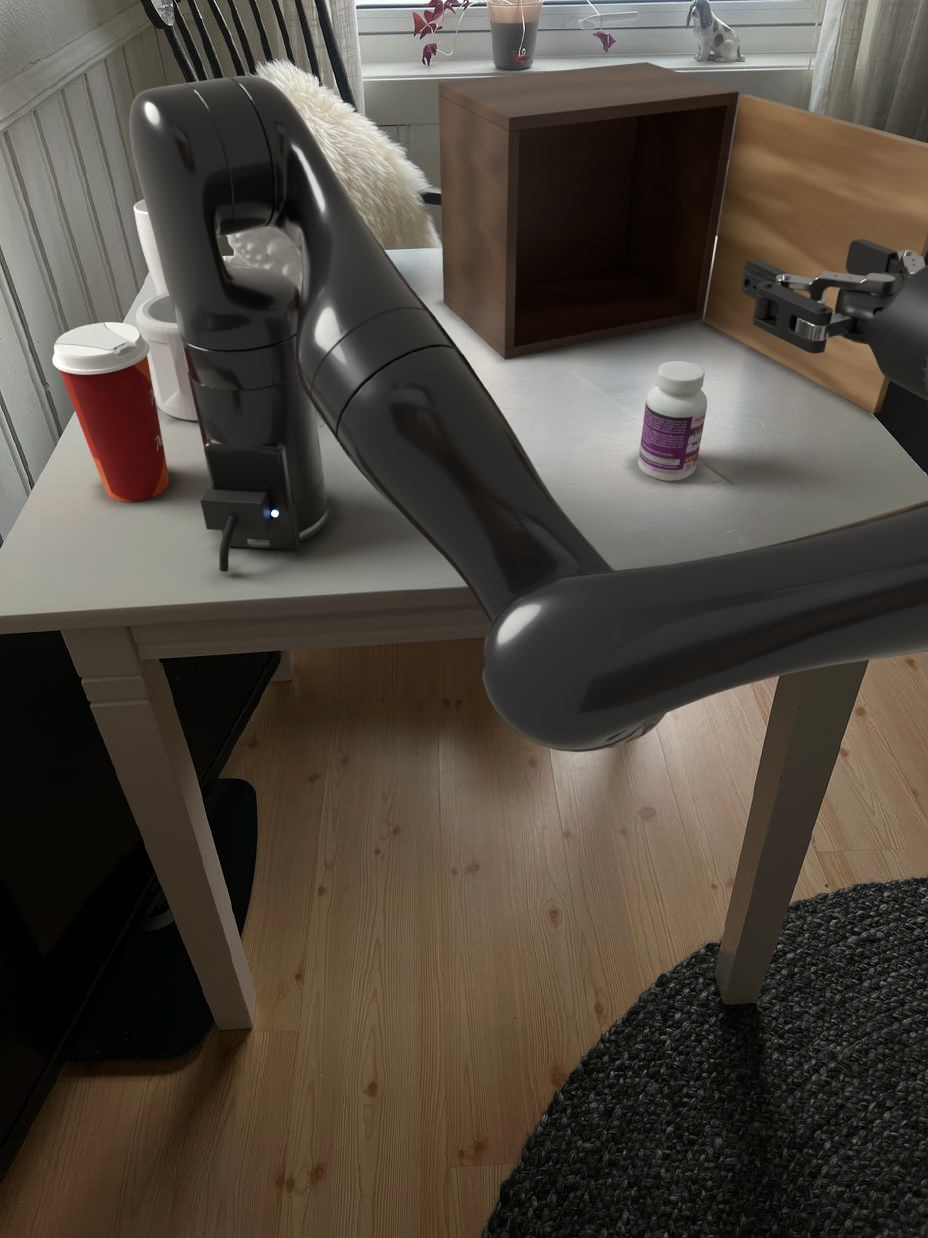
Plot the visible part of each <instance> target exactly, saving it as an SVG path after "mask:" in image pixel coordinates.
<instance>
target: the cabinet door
mask: <svg viewBox="0 0 928 1238" xmlns="http://www.w3.org/2000/svg"><path fill="white" fill-rule="evenodd" d="M859 239H866V240H868V241H871V242H873V243H876V244H878V245H881V246H883V247H886V248H889V249H891V250H894V251H896V252H897V253H898V252H899V251H902V250H912V251H914V252H917V254H918V256H923V257H925V255H926V251H927V250H928V142H924V141H920V140H916V139H913V138H909V137H905V136H903V135H898V134H895V133H891V132H887V131H884V130H880V129H877V128H873V127H869V126H866V125H862V124H858V123H855V122H851V121H848V120H844V119H840V118H836V117H833V116H829V115H825V114H821V113H819V112H814V111H810V110H806V109H803V108H799V107H795V106H793V105H789V104H785V103H781V102H778V101H774V100H771V99H767V98H763V97H759V96H756V95H752V94H749V93H747V94H745V93H744V94H739V99H738V105H737V111H736V117H735V123H734V130H733V136H732V142H731V148H730V154H729V161H728V167H727V173H726V179H725V185H724V192H723V198H722V204H721V210H720V216H719V223H718V229H717V235H716V241H715V247H714V254H713V260H712V266H711V272H710V279H709V285H708V291H707V297H706V303H705V310H704V316H703V322H704V323H705V324H707V325H709V326H710V327H713V328H714V329H715V330H718V331H720V332H722V333H723V334H725V335H727V336H729V337H731V338H733V339H735V340H736V341H738V342H740V343H742V344H743V345H745V346H747V347H749V348H751V349H752V350H755V351H756V352H758V353H760V354H761V355H764V356H766V357H768V358H769V359H771V360H773V361H775V362H777V363H779V364H780V365H783V366H785V367H786V368H788V369H790V370H791V371H794V372H795V373H798V374H799V375H801V376H802V377H805V378H807V379H808V380H810V381H811V382H814V383H816V384H817V385H820V386H821V387H823V388H825V389H827V390H828V391H830V392H833V393H835V394H836V395H838V396H840V397H842V398H844V399H845V400H847V401H849V402H851V403H853V404H855V405H857V406H858V407H861V408H862V409H864V410H865V411H868V412H870V413H871V414H873V415H874V414H876V413H877V414H878V413H880V412H881V411H882V407H883V404H884V401H885V399H886V394H887V392H888V387H889V385H890V382H891V381H890V380H889V379H887V378H886V377H885V376H884V375H883V373H882V372H881V371H880V369H879V367H878V364H877V362H876V359H875V357H874V354H873V352H872V350H871V348H870V347H869V345H867V344H861V343H855V342H852V341H851V340H848V339H846V338H844V337H842V336H834V337H830V338H827V342H826V347H825V351H824V352H822V353H809V352H807V351H805V350H803V349H801V348H799V347H797V346H795V345H793V344H791V343H789V342H787V341H785V340H783V339H781V338H779V337H777V336H775V335H773V334H771V333H769V332H767V331H765V330H763V329H761V328H759V327H757V326H755V325H753V324H752V322H753V316H754V309H755V302H756V300H755V299H753V298H751V297H749V296H748V295H746V294H744V293H742V291H741V285H742V278H743V271H744V268H745V264H746V262H747V261H750V260H755V259H759V260H761V261H764V262H766V263H768V264H770V265H772V266H774V267H776V268H778V269H780V270H783V271H785V272H787V273H789V274H790V275H797V276H804V277H812V278H815V277H817V276H818V274H819V273H821V272H823V271H829V272H837V273H845V274H850V273H848V272H847V270H846V261H847V256H848V252H849V247H850V244H851V242H852V241H854V240H859ZM839 290H840V288H835V287H829V288H828V290H827V295H826V300H825V305H826V306H828V307H830V308H832V309H833V313H835V306H836V301H837V296H838V292H839ZM794 292H796V293H798V294H801V295H803V296H805V297H808V298H810V293H809V292H807V291H802V290H795V289H794ZM841 380H842V381H841ZM849 388H850V389H849ZM852 392H853V393H854V394H853V393H852Z"/></svg>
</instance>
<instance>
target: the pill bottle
mask: <svg viewBox="0 0 928 1238" xmlns="http://www.w3.org/2000/svg"><path fill="white" fill-rule="evenodd" d="M704 380H705V370H704V368H703V367H701V366H700V365H698V364H696V363H693V362H689V361H684V360H673V361H667V362H663V363H661V364H660V366H659V367H658V368H657V372H656V379H655V383H656V385H655V386H653V387H652V388H651V389H650V390H649V391H648V393H647V394H646V399H645V405H644V412H643V413H644V414H643V424H642V430H641V437H640V444H639V445H640V446H639V453H638V461H637V463H638V466H639V470H641V471H642V473H644V474H645V475H647V476H649V477H651V478H654V479H656V480H661V481H668V482H672V481H680V480H684V479H686V478H688V477H690V476H691V475H692V474H693V473H694V472H695V471H696V468H697V464H698V459H699V453H700V449H701V448H700V447H701V443H702V436H703V431H704V426H705V420H706V415H707V409H708V398H707V396H706V394H705V392H704V391H703V390H702V388H703V386H704Z"/></svg>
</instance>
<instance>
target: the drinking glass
mask: <svg viewBox="0 0 928 1238" xmlns="http://www.w3.org/2000/svg"><path fill="white" fill-rule="evenodd" d="M133 213H134V219H135V224H136V229H137V234H138V239H139V242H140V246H141V250H142V253H143V255H144V256H143V257H144V260H145V263H146V265H147V269H148V272H149V276H150V278H151V281H152V285H153V288H154V292H155V294H156V295H155V296H157V295H160V294H163V293H166V292H168V289H167V286H166V282H165V278H164V274H163V270H162V265H161V261H160V257H159V252H158V248H157V244H156V241H155V237H154V233H153V229H152V225H151V222H150V218H149V215H148V211H147V208H146V204H145V200H144V198H143V199H141V200H138V201H137V202H135V204H134V205H133Z"/></svg>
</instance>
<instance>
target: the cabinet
mask: <svg viewBox="0 0 928 1238" xmlns="http://www.w3.org/2000/svg"><path fill="white" fill-rule="evenodd" d="M437 84H438V86H437V87H438V89H437V90H438V123H439V124H438V126H439V127H438V128H439V129H438V130H439V166H440V167H439V169H440V206H441V208H440V210H441V248H442V249H441V251H442V253H441V254H442V291H443V292H442V293H443V295H442V296H443V304H444V305H445V306H447V308H449V309H450V310H451V311H452V313H454V314H455V315H456V316H457V317H458V318H459V319H460V320H461V321H463V322H464V323H465V324H466V325H467V326H468V328H470V329H471V330H472V331H473V332H474V333H475V334H477V335H478V337H480V338H481V340H483V341H484V342H486V343H487V344H488V345H489V346H490V348H492V350H494V351H495V352H496V353H497V354H498V355H499V356H500V357H502V359H504V360H508V359H512V358H513V359H514V358H518V357H522V356H527V355H532V354H537V353H543V352H545V351H549V350H555V349H559V348H560V349H561V348H566V347H571V346H575V345H580V344H585V343H590V342H596V341H600V340H601V341H602V340H605V339H611V338H615V337H620V336H626V335H630V334H636V333H640V332H641V333H642V332H645V331H652V330H657V329H662V328H666V327H672V326H675V325H682V324H686V323H691V322H696V321H697V322H698V321H702V320H704V316H705V309H706V303H707V297H708V291H709V284H710V278H711V272H712V266H713V259H714V253H715V247H716V241H717V234H718V228H719V222H720V216H721V210H722V203H723V197H724V191H725V185H726V178H727V172H728V166H729V160H730V153H731V147H732V141H733V135H734V128H735V122H736V116H737V110H738V103H739V97H740V91H738V90H735V89H733V88H729V87H725V86H723V85H719V84H717V83H715V82H714V83H713V82H710V81H707V80H703V79H701V78H697V77H696V76H692V75H688V74H685V73H682V72H680V71H676V70H673V69H669V68H666V67H664V66H660V65H658V64H654V63H651V62H648V61H643V62H634V63H633V62H632V63H624V64H613V65H603V66H595V67H594V66H593V67H584V68H583V67H582V68H572V69H564V70H552V71H543V72H531V73H523V74H513V75H503V76H492V77H483V78H472V79H463V80H462V79H461V80H452V81H442V82H438V83H437Z"/></svg>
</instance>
